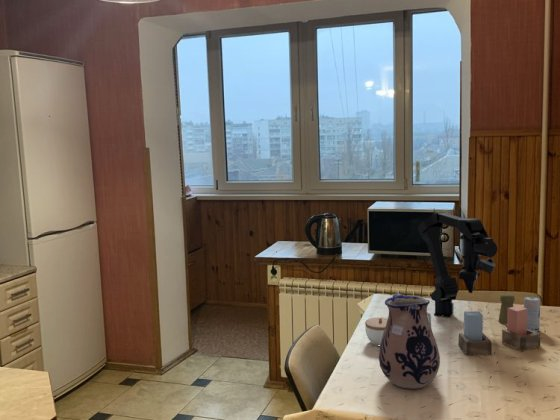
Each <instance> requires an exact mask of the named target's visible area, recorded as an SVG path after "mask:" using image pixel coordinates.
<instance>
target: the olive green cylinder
mask: <svg viewBox="0 0 560 420" xmlns="http://www.w3.org/2000/svg"><path fill="white" fill-rule="evenodd" d="M515 298H516V297H515V296H514V295H513V294H511V293H502V294H500V297H499V299H500V302H501V303H500V310H499V317H498V322H499V323H500V324H502V325H507V308H510V307H514V303H515Z"/></svg>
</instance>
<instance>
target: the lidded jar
mask: <svg viewBox="0 0 560 420" xmlns="http://www.w3.org/2000/svg"><path fill="white" fill-rule="evenodd" d="M387 320H388V317H372V318H368V319H366V320H365V321H364V325H365V334H366V337H367V339H368V340H369V341H370V343H371V344H372V343H373V344H375V345H374V346H376V345H380V344H381V340H382V336H383V333H384V330H385V327H386V323H387ZM373 344H372V345H373Z"/></svg>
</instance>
